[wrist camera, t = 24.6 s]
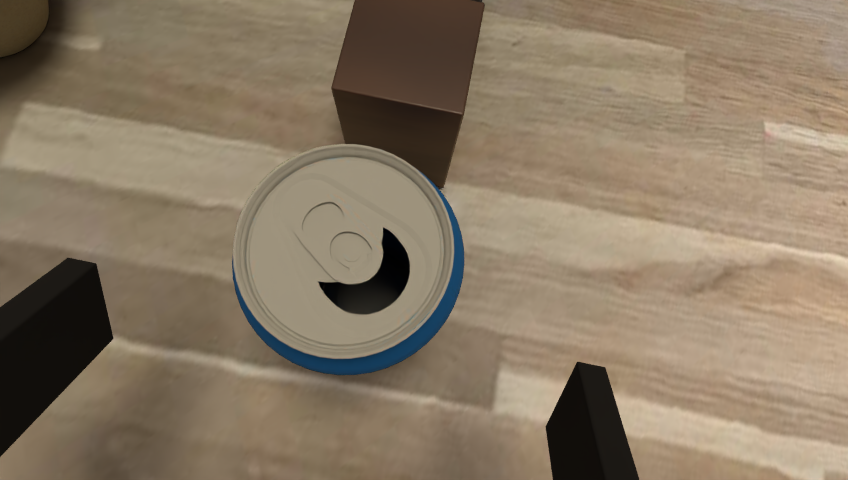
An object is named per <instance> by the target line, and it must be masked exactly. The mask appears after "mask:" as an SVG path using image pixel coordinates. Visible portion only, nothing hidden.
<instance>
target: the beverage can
mask: <svg viewBox="0 0 848 480" xmlns="http://www.w3.org/2000/svg"><path fill="white" fill-rule="evenodd" d="M232 269H233V280H234V285H235V291H236V294H237V297H238V300H239V303H240V306H241V308H242V310H243V312H244V314H245V316H246V318H247V320H248V322H249V323H250V325H251V326H252V328H253V329H254V330H255V332H256V333H257V334H258V336H259V337H260V338H261V339H262V340H263V341H264V342H265V343H266V344H267V345H268V346H269V347H270V348H272V349H273V350H274V351H275V352H277V353H278V354H279V355H281V356H282V357H284V358H286V359H287V360H289V361H291V362H292V363H295V364H297V365H299V366H302V367H304V368H307V369H309V370H313V371H317V372H321V373H326V374H334V375H358V374H364V373H371V372H374V371H378V370H381V369H385V368H388V367H390V366H392V365H394V364H397V363H399V362H401V361H403V360H404V359H406V358H408V357H409V356H411V355H413V354H414V353H416V352H417V351H418V350H419V349H421V348H422V347H423V346H424V345H426V344H427V343H428V342H429V341H430V340H431V339H432V338H433V336H434V335H435V334H436V333H437V332H438V331H439V330H440V328H441V327H442V325H443V324H444V323H445V321H446V320H447V318H448V316H449V314H450V313H451V311H452V309H453V307H454V305H455V302H456V300H457V297H458V294H459V291H460V287H461V283H462V279H463V270H464V247H463V241H462V235H461V231H460V228H459V225H458V222H457V219H456V217H455V215H454V213H453V210H452V208H451V206H450V205H449V203H448V202H447V200H446V198H445V197H444V195H443V194H442V193H441V191H440V190H439V189H438V188H437V187H436V185H435V184H434V183H433V182H432V181H431V180H430V179H429V178H427V177H426V176H425V175H424V174H423V173H422V172H420V171H419V170H417V169H416V168H415V167H413V166H412V165H410V164H409V163H407V162H406V161H404V160H403V159H401V158H399V157H397V156H395V155H394V154H391V153H389V152H386V151H384V150H381V149H377V148H373V147H370V146H364V145H357V144H336V145H326V146H322V147H318V148H314V149H311V150H308V151H305V152H302V153H300V154H298V155H296V156H294V157H292V158H290V159H288V160H286V161H285V162H283V163H282V164H280V165H279V166H277V167H276V168H275V169H274V170H273V171H271V172H270V173H269V174H268V175H267V176H266V177H265V178H264V179H263V180H262V181H261V182H260V183H259V184H258V185H257V187H256V188H255V189H254V191H253V192H252V194H251V195H250V197H249V198H248V200H247V202H246V204H245V206H244V207H243V209H242V211H241V214H240V217H239V220H238V223H237V226H236V231H235V235H234V242H233V259H232Z"/></svg>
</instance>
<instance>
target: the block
mask: <svg viewBox="0 0 848 480" xmlns="http://www.w3.org/2000/svg"><path fill="white" fill-rule="evenodd" d="M484 6H485V5H484V3H482V2H477V1H472V0H355V2H354V5H353V9H352V13H351V17H350V20H349V24H348V28H347V31H346V35H345V39H344V43H343V46H342V50H341V54H340V57H339V61H338V65H337V69H336V72H335V76H334V80H333V83H332V87H331V88H332V93H333V97H334V100H335V104H336V108H337V112H338V116H339V120H340V124H341V128H342V132H343V136H344V140H345V144H357V145H364V146H370V147H373V148H377V149H381V150H384V151H386V152H389V153H391V154H394V155H395V156H397V157H399V158H401V159H403V160H404V161H406V162H407V163H409V164H410V165H412V166H413V167H415V168H416V169H417V170H419V171H420V172H422V173H423V174H424V175H425V176H426V177H427V178H429V179H430V180H431V181H432V182H433V183H434V184H435V185H436V186H437V187H444V184H445V180H446V177H447V173H448V170H449V166H450V162H451V159H452V155H453V152H454V148H455V144H456V141H457V137H458V134H459V130H460V126H461V123H462V119H463V115H464V111H465V105H466V100H467V95H468V90H469V85H470V79H471V74H472V69H473V64H474V58H475V53H476V48H477V43H478V37H479V32H480V27H481V22H482V17H483V11H484Z"/></svg>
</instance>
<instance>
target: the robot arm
mask: <svg viewBox="0 0 848 480" xmlns="http://www.w3.org/2000/svg"><path fill="white" fill-rule="evenodd" d="M112 340H113V335H112V330H111V326H110V322H109V317H108V313H107V308H106V304H105V300H104V295H103V291H102V287H101V282H100V278H99V273H98V269H97V265H96V263H91V262H87V261H82V260H77V259H72V258H67V259H66V260H64V261H63V262H61V263H60V264H59V265H57V266H56V267H55V268H53V269H52V270H51V271H49V272H48V273H46V274H45V275H44V276H42V277H41V278H40V279H38V280H37V281H36V282H34V283H33V284H31V285H30V286H29V287H27V288H26V289H25V290H23V291H22V292H21V293H19V294H18V295H16V296H15V297H14V298H12V299H11V300H10V301H8V302H7V303H6V304H4V305H3V306H1V307H0V457H1V456H2V454H3V453H4V452H5V451H6V450H7V449H8V448H9V447H10V446H11V445H12V444H13V443H14V442H15V441H16V440H17V439H18V438H19V437H20V436H21V435H22V434H23V433H24V431H25V430H26V429H27V428H28V427H29V426H30V425H31V424H32V423H33V422H34V421H35V420H36V419H37V418H38V417H39V416H40V415H41V414H42V413H43V412H44V411H45V410H46V409H47V407H48V406H49V405H50V404H51V403H52V402H53V401H54V400H55V399H56V398H57V397H58V396H59V395H60V394H61V393H62V392H63V391H64V390H65V389H66V388H67V387H68V386H69V385H70V383H71V382H72V381H73V380H74V379H75V378H76V377H77V376H78V375H79V374H80V373H81V372H82V371H83V370H84V369H85V368H86V367H87V366H88V365H89V364H90V363H91V362H92V360H93V359H94V358H95V357H96V356H97V355H98V354H99V353H100V352H101V351H102V350H103V349H104V348H105V347H106V346H107V345H108V344H109V343H110V342H111V341H112ZM546 433H547V440H548V447H549V454H550V461H551V469H552V476H553V480H639V477H638V474H637V471H636V467H635V464H634V461H633V457H632V454H631V451H630V448H629V444H628V441H627V438H626V434H625V431H624V428H623V424H622V421H621V418H620V415H619V411H618V408H617V405H616V401H615V398H614V395H613V391H612V388H611V385H610V382H609V378H608V375H607V372H606V368H605V367H600V366H596V365H591V364H586V363H581V362H577V363H576V365H575V367H574V370H573V372H572V374H571V376H570V378H569V380H568V382H567V384H566V386H565V388H564V390H563V392H562V394H561V396H560V398H559V400H558V402H557V404H556V407H555V409H554V411H553V413H552V415H551V417H550V419H549V421H548V423H547V425H546Z"/></svg>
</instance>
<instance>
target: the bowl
mask: <svg viewBox="0 0 848 480" xmlns="http://www.w3.org/2000/svg"><path fill="white" fill-rule="evenodd" d="M48 17H49V4H48V0H0V57H4V56H8V55H12V54H15V53H17V52H19V51H22V50H23V49H25V48H27V47H28V46H29V45H31V44H32V43H33V42H34V41H35V40H36V39H37V38H38V37H39V36H40V35H41V33H42V32H43V30H44V29H45V27H46V24H47V21H48Z"/></svg>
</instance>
